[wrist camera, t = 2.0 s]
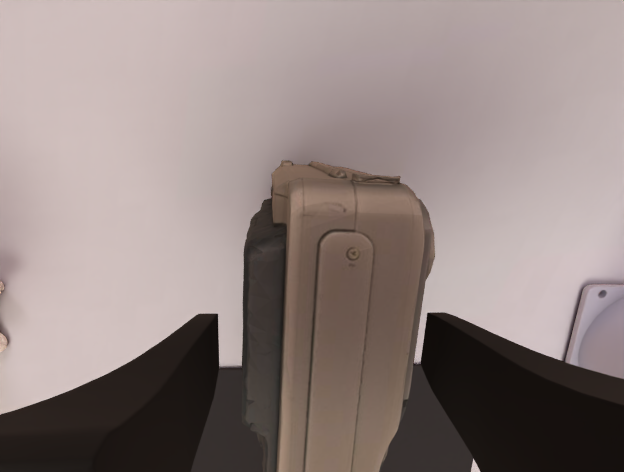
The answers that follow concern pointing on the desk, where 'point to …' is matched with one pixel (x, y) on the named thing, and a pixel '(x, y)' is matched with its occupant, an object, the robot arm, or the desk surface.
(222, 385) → the desk pad
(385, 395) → the camera
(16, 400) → the desk surface
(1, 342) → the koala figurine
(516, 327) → the desk surface
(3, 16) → the desk surface
